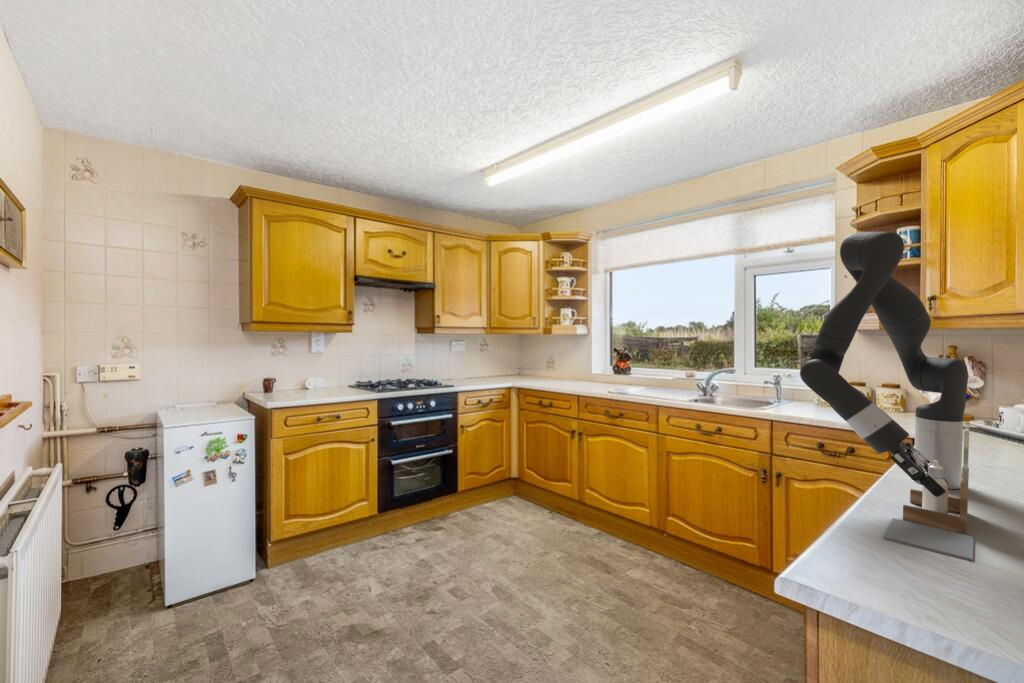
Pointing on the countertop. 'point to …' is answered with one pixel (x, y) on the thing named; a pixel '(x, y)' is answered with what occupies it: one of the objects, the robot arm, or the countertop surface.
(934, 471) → the eye dropper bottle
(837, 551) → the countertop surface
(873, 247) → the robot arm
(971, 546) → the slate mat
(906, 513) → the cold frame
